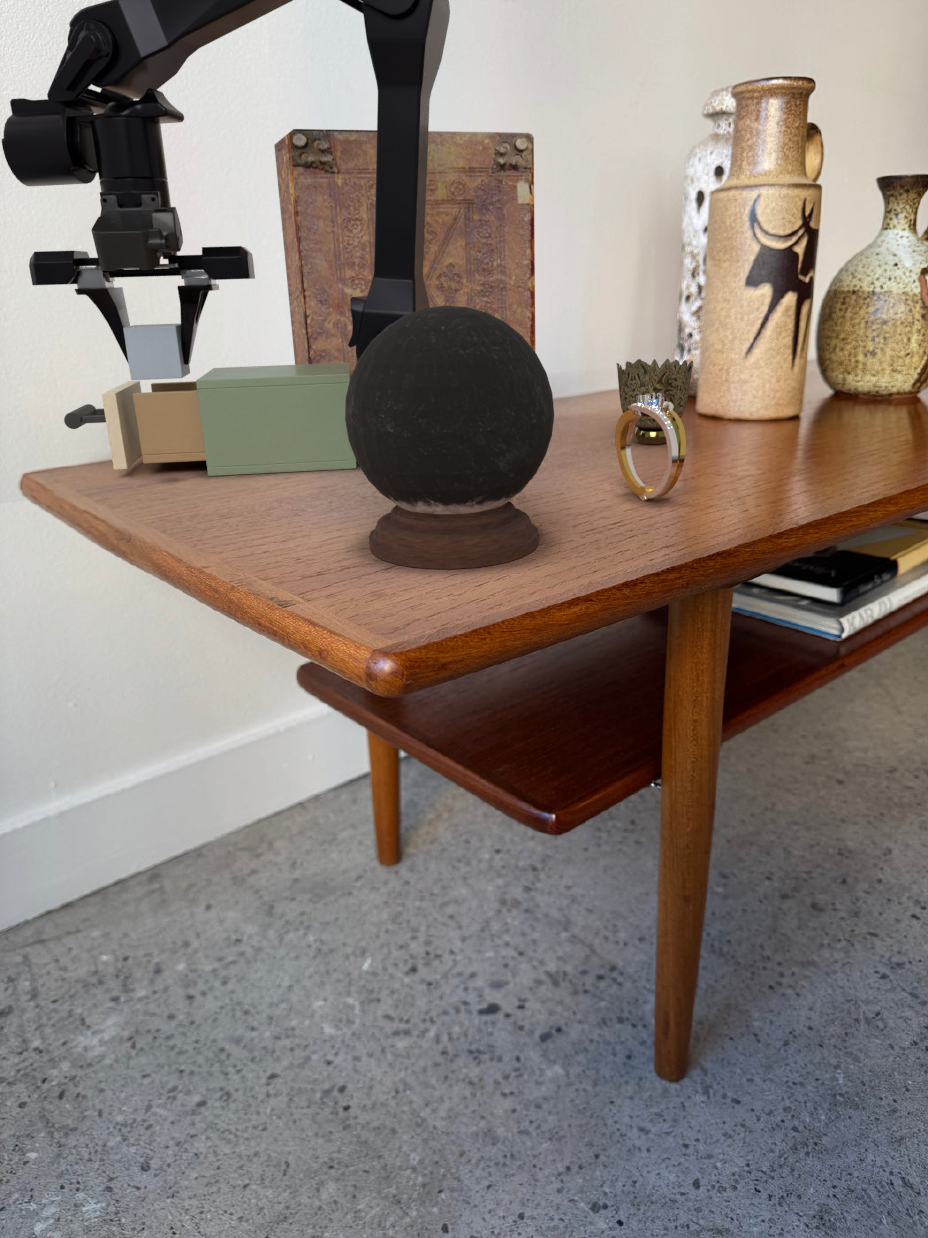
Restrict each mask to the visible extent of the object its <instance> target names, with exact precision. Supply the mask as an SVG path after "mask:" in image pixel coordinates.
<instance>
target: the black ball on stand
mask: <svg viewBox="0 0 928 1238" xmlns="http://www.w3.org/2000/svg"><path fill="white" fill-rule="evenodd" d="M536 352H537V351H536V350H535V351H534V350H533V349H532V347H531V346H530V345H529V344H528V343H527V341H526V340H525V339H524V338H523V336H522V335H520V334H519V333H518V332H517V331H516V330H514V329H513V328H512V327H511V326H509V325H508V324H507V323H506V322H504V321H502V320H500V319H498V318H496V317H494V316H493V315H491V314H489V313H486V312H483V311H479V310H475V309H472V308H468V307H461V306H439V307H431V308H425V309H422V310H419V311H416V312H413V313H410V314H408V315H405V316H403V317H402V318H400V319H398V320H397V321H395V322H394V323H392V324H390V325H389V326H387V327H386V328H385V329H384V330H383V331H382V332H381V333H380V334H378V335H377V336H376V337H375V338H374V339H373V340H372V341H371V342H370V344H369V345H368V346H367V348H366V349H365V351H364V352H363V354H362V355H361V356H360V358H359V359H358V362H357V364H356V366H355V368H354V371H353V373H352V375H351V378H350V381H349V386H348V390H347V395H346V402H345V422H346V428H347V434H348V440H349V443H350V445H351V448H352V450H353V453H354V456H355V458H356V464H357V465H358V466H359V468H360V470H361V471H362V473H363V474H364V476H365V478H366V479H367V481H368V482H369V483H370V484H371V485H372V486H373V487H374V488H375V489H376V490H377V492H379V493H380V494H381V496H383V497H385V498H386V499H388V500H389V501H390V502H392V503H394V504H395V506H393V507H392V509H391V510H390V512H388V513H386V514H384V515H382V516H381V517H380V518H378V520H377V522H376V525H375V528H374V529H372V531H370V533H369V535H368V542H369V543H368V544H369V551H370V553H371V554H372V555H373V556H374V557H376V558H378V559H379V560H382V561H384V562H387V563H390V564H393V565H398V566H404V567H408V568H419V569H433V570H458V569H459V570H460V569H462V570H463V569H472V568H482V567H488V566H495V565H499V564H504V563H508V562H513V561H515V560H518V559H522V558H524V557H526V556H528V555H529V554H531V553H533V552H534V551H535V550H536V549H537V547H538V546H539V528H538V527H537V526H536V525H535V524H534V523H532V519H531V518H530V516H529V514H528V513H526V512H525V511H523V510H522V509H520V508H516V506H515V505H514V503H512V502H511V500H512V499H513V498H515V497H516V496H517V495H519V494H520V493H521V492H522V491H523V490H524V489H525V487H526V486H527V485H528V484H529V483H530V482H531V480H532V479H533V478H534V476H535V475H536V474H537V472H538V471H539V468H540V467H541V466H542V463H543V462H544V460H545V457H546V455H547V453H548V449H549V446H550V443H551V440H552V437H553V430H554V421H555V406H554V396H553V391H552V387H551V384H550V381H549V377H548V374H547V371H546V369H545V367H544V365H543V363H542V362H541V360H540V357H539V356H538V353H536Z"/></svg>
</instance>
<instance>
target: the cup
mask: <svg viewBox="0 0 928 1238" xmlns="http://www.w3.org/2000/svg"><path fill="white" fill-rule="evenodd" d="M693 366H694V361H693V360H690V361H689V362H688V361H687V359H684V360H683V361H682V362H681V364H680V361H679V360H678V359H675V360H673V361H671V360H670V359H669V358H666V359H665V360H664V361H663V363H662V364H661V365H659V363H658V361H657V360H656V359H655V358H654V359H653V360H652V362H651V364H649V363H648V362H646V361H644V360H642V359H641V358H638V359H636V360H635V361H634V362H633V363H632V362H631V361H627V360H626V362H625V367H624V368H623V366H622V364H620V363H619V362H616V369H617V382H618V392H619V402H620V407H621V412H622V414H623V413H624V412H626V411H628V410H629V408H628V406H630V405H632V404H634V403H635V397H636V396H638V395H642V402H643V395H645V394H648V396H649V394H651V393H655V400H656V395H657V394H658V393H660V394H662V398H665V400H664V401H667V402H670V403H672V404H673V406H674V407H673V411H674V412H675V413H676V414H677V415H678V416H679V418H680V419H681V420H682V417H683V416H684V413H685V411H686V407H687V403H688V398H689V393H690V387H691V380H692V374H693ZM649 400H650V398H649ZM664 409H665V408H663V410H664ZM633 436H634V439H635V441H636V442H637V443H639V444H643V445H661V444H662V445H663V444H665V443H667V441H666V437H665V434H664V431H663V429H662V427H661V426H660V424H659V423H658V422H657V421H656V420H655V419H654V418H653V417H648V416H641V417H640V418H639V420H638V421H637V423H636V425H635V429H634V432H633Z"/></svg>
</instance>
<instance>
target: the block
mask: <svg viewBox="0 0 928 1238" xmlns="http://www.w3.org/2000/svg"><path fill="white" fill-rule="evenodd" d="M123 330H124V337H125V343H126V350H127V356H128V362H127V364H128V363H129V364H128V368H129V369H128V370H129V374H130V381H144V380H145V381H147V380H169V379H170V380H173V379H183V378H185V377H186V376H188V375H189V374H190V375H191V369H190V364H188V365H185V364H184V360H183V354H182V347H181V322H179V323H156V324H154V323H153V324H133V325H130V326H128V327H124V328H123Z"/></svg>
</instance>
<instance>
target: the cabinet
mask: <svg viewBox="0 0 928 1238" xmlns="http://www.w3.org/2000/svg"><path fill="white" fill-rule="evenodd" d="M350 378H351V375H350V363H326V364H301V365H295V364H279V365H278V364H277V365H276V364H275V365H255V366H254V365H253V366H231V367H230V366H229V367H226V366H225V367H213V368H211V369H210V370H209V371H208V372H206V373H204V374H203V375H201V376H200V377H199V378H197V379H196V380H195V381H196V385H197V394H198V401H199V409H200V417H201V425H202V433H203V440H204V448H205V456H206V461H205V462H206V463H205V464H206V471H207V476H208V477H216V476H219V477H220V476H237V475H254V474H255V475H257V474H277V473H278V474H279V473H294V472H298V473H299V472H315V471H334V470H335V471H336V470H337V471H338V470H354V469H358V468H357V461H356V458H355V456H354V453H353V450H352V448H351V445H350V443H349V440H348V434H347V428H346V422H345V402H346V395H347V390H348V386H349V381H350Z"/></svg>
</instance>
